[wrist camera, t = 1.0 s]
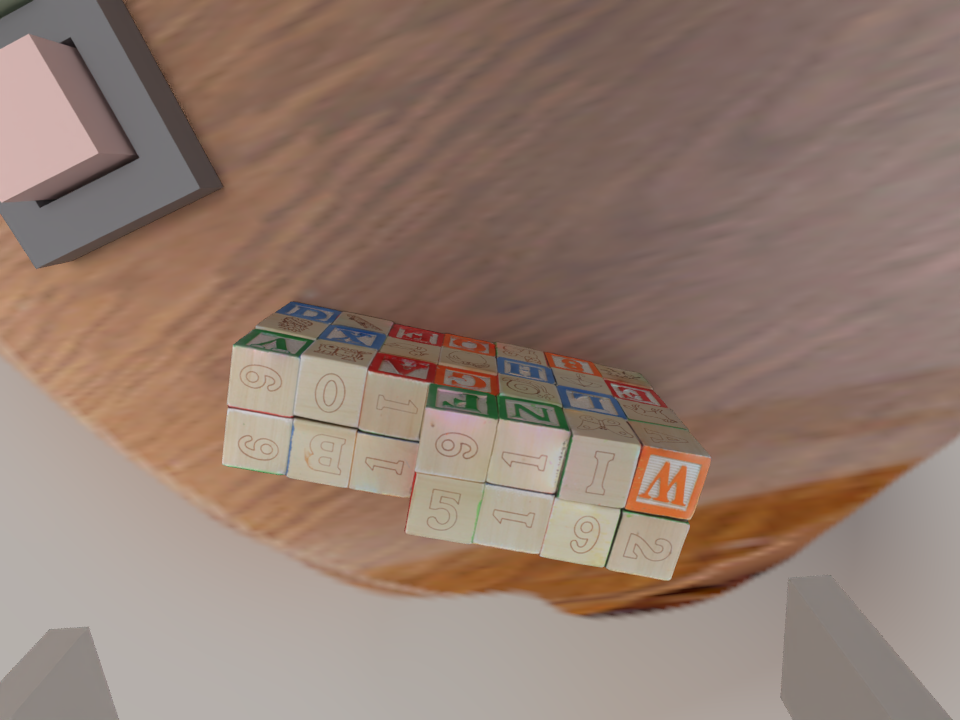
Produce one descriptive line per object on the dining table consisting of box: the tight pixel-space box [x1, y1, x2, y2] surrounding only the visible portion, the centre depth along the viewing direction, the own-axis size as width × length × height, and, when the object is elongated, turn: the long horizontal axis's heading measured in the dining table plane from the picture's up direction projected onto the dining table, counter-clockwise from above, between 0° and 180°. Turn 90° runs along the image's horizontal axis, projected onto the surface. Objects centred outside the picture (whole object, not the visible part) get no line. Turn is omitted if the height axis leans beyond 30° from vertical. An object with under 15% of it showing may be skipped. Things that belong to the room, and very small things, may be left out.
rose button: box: [0, 34, 139, 203], centre depth 30 cm, size 5×5×4 cm
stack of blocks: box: [222, 302, 711, 580], centre depth 32 cm, size 21×6×12 cm, turn 78°
